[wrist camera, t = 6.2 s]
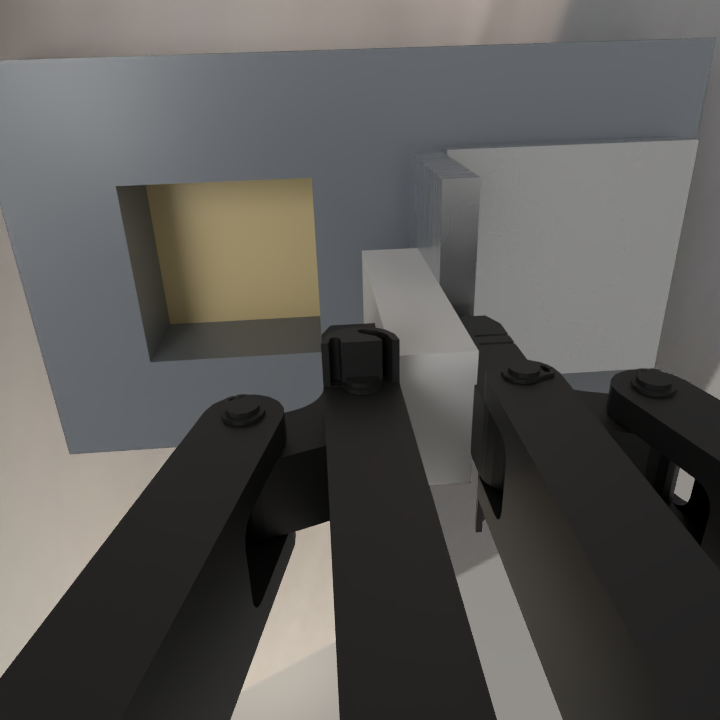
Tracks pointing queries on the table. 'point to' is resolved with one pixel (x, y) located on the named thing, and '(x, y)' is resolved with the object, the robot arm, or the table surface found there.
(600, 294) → the shutter
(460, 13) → the table surface
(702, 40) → the socket block
